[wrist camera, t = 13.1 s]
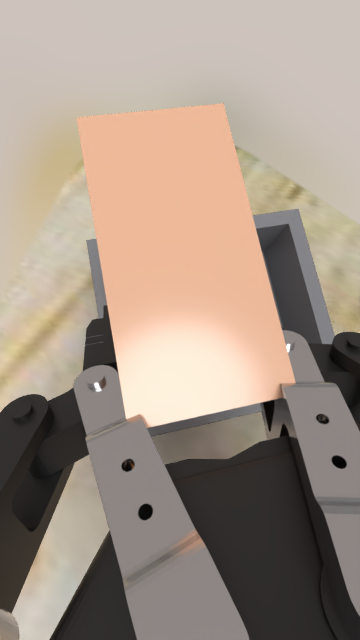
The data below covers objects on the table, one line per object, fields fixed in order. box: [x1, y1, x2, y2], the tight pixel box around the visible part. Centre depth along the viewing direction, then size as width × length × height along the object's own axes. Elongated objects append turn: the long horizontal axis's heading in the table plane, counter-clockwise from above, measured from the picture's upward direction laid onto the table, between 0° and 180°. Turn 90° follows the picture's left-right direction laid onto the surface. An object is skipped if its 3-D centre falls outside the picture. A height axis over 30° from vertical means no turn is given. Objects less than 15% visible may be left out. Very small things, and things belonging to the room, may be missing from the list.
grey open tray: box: [86, 209, 335, 436], centre depth 23 cm, size 15×13×6 cm
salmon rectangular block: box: [77, 104, 296, 428], centre depth 13 cm, size 4×8×12 cm, turn 11°
